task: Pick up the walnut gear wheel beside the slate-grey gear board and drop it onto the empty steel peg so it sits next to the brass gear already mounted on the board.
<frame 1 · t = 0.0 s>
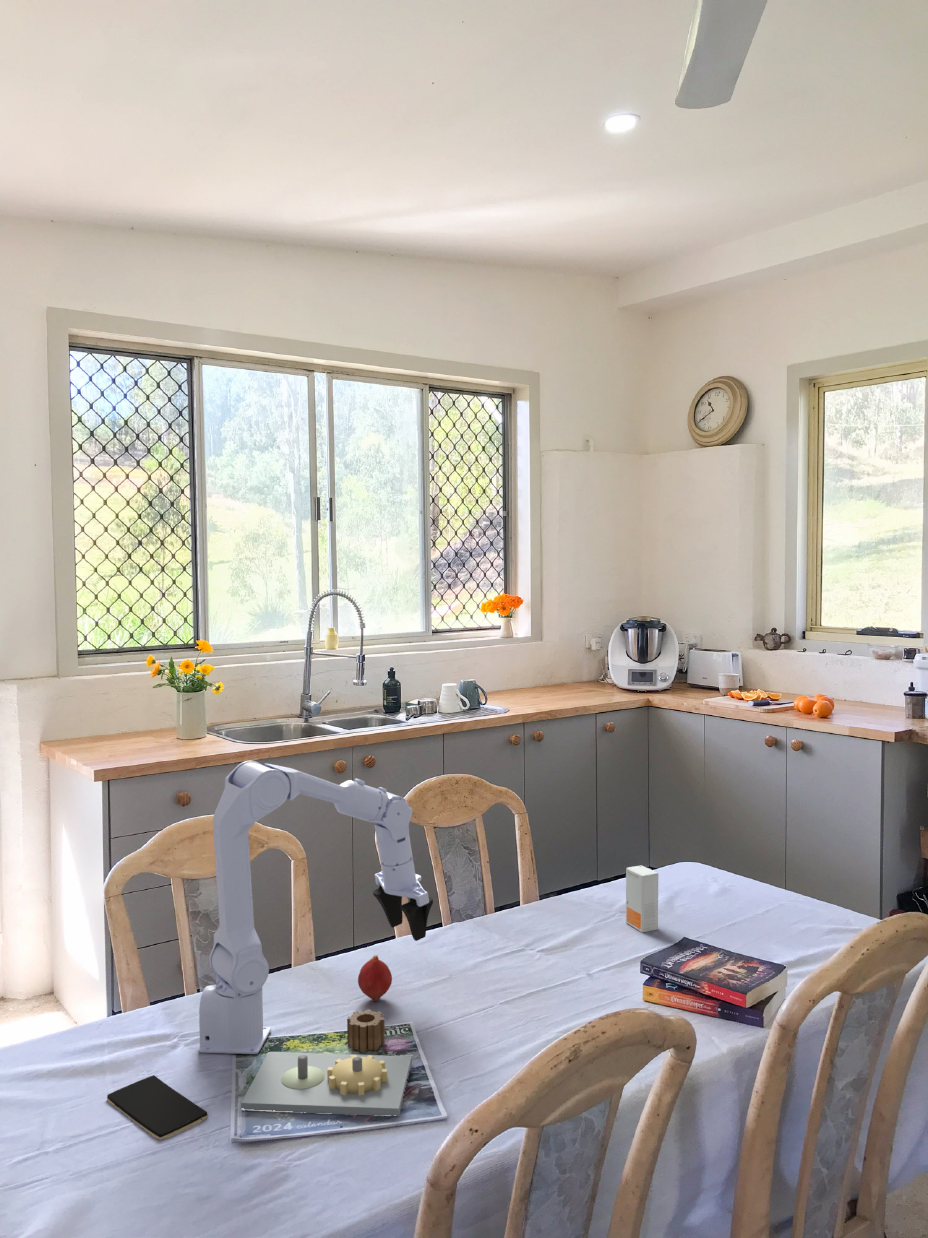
hand: (408, 931, 171), 11 cm above the table, tool pointing down, fingers open, 7 cm apart
skincare box: (641, 927, 201), on the table
onion: (375, 1001, 167), on the table
gear board: (330, 1086, 140), on the table
walnut gear: (366, 1043, 152), on the table
smartphone: (156, 1113, 134), on the table
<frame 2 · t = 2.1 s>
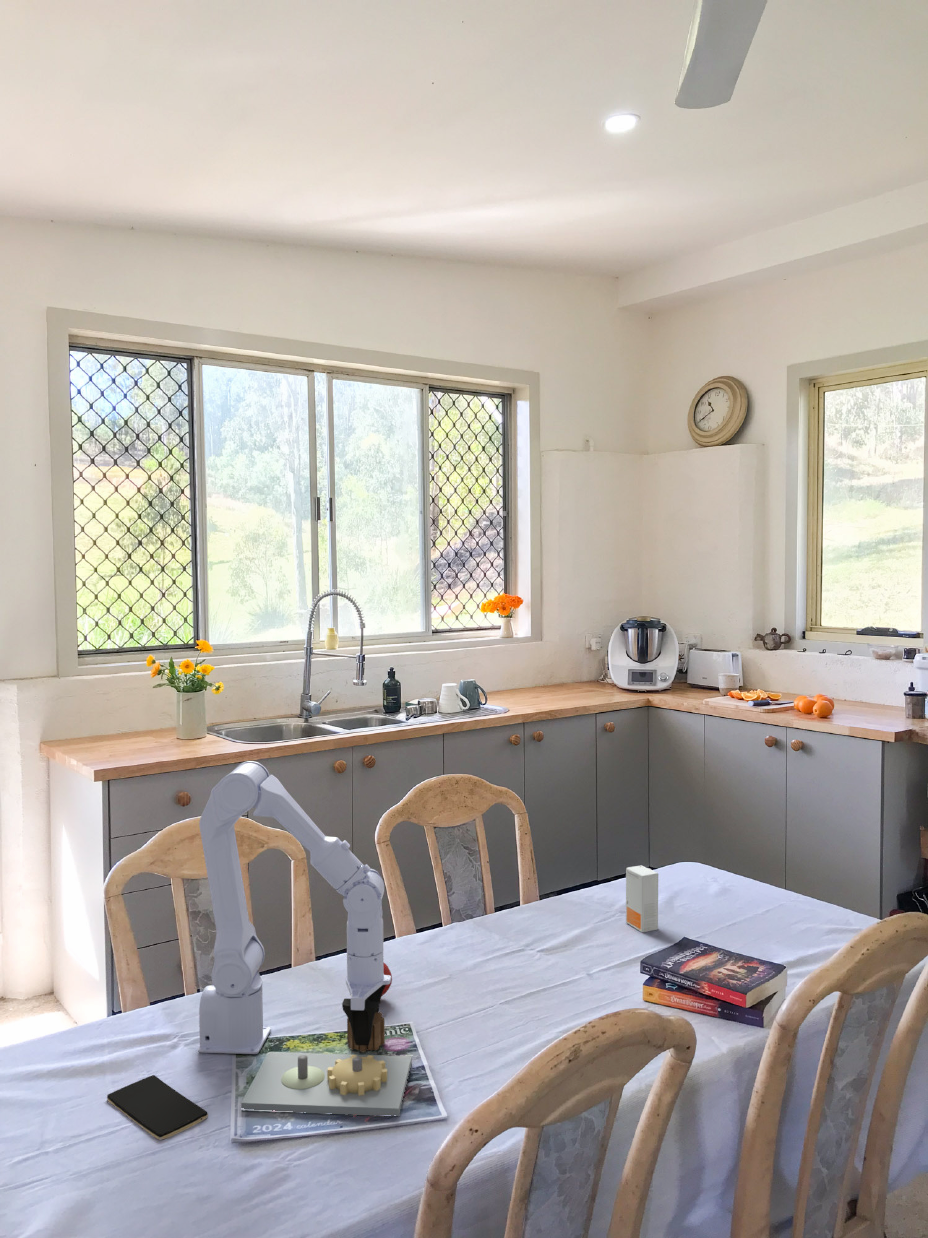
hand: (366, 1034, 152), 1 cm above the table, tool pointing down, fingers closed on walnut gear, 6 cm apart
walnut gear: (366, 1043, 152), on the table, touching gripper
everything else where it was.
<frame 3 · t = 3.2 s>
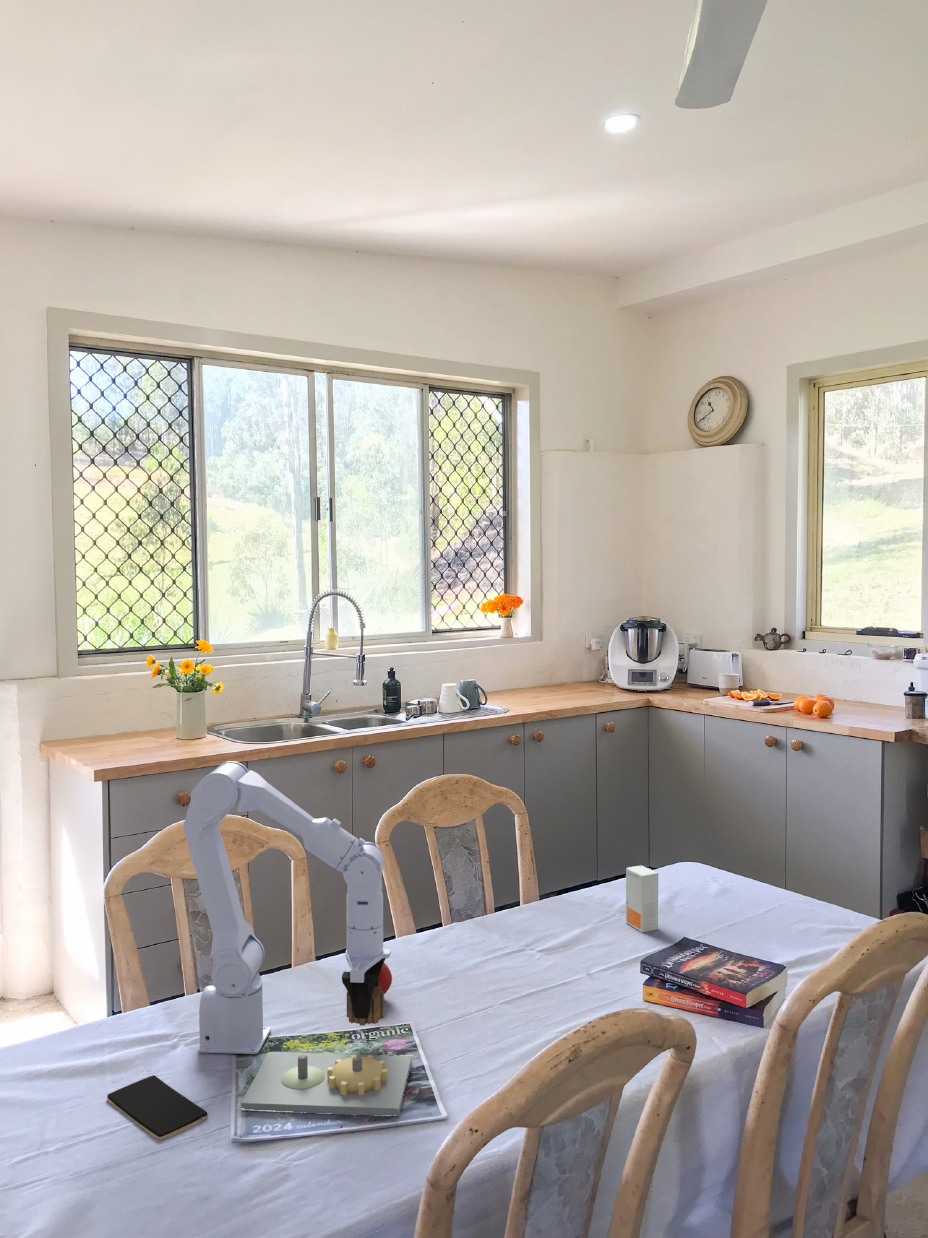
hand: (365, 1008, 152), 6 cm above the table, tool pointing down, fingers closed on walnut gear, 6 cm apart
walnut gear: (365, 1017, 152), point 4 cm above the table, touching gripper
everything else where it was.
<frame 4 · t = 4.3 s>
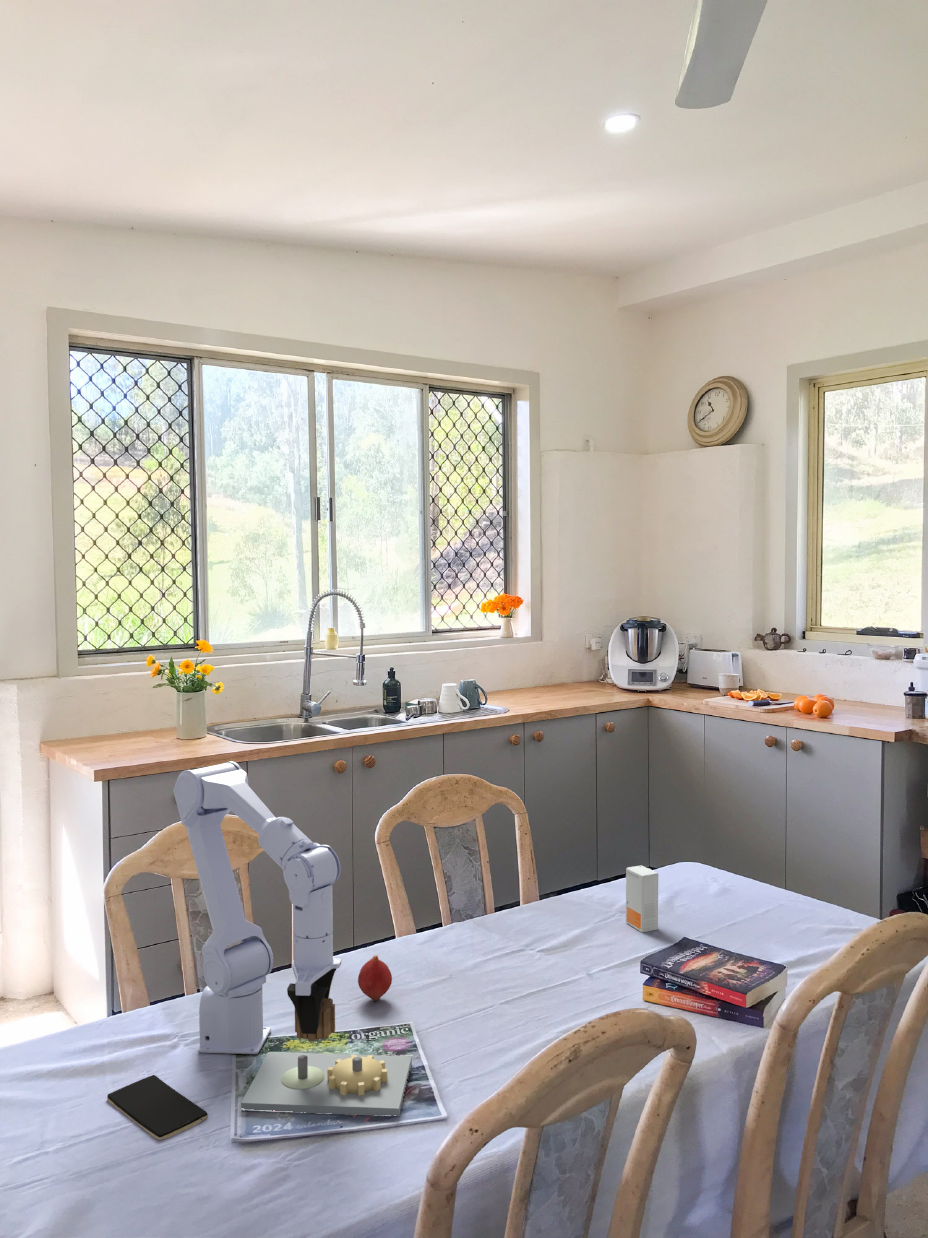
hand: (314, 1022, 142), 8 cm above the table, tool pointing down, fingers closed on walnut gear, 6 cm apart
walnut gear: (315, 1031, 142), point 7 cm above the table, touching gripper
everything else where it was.
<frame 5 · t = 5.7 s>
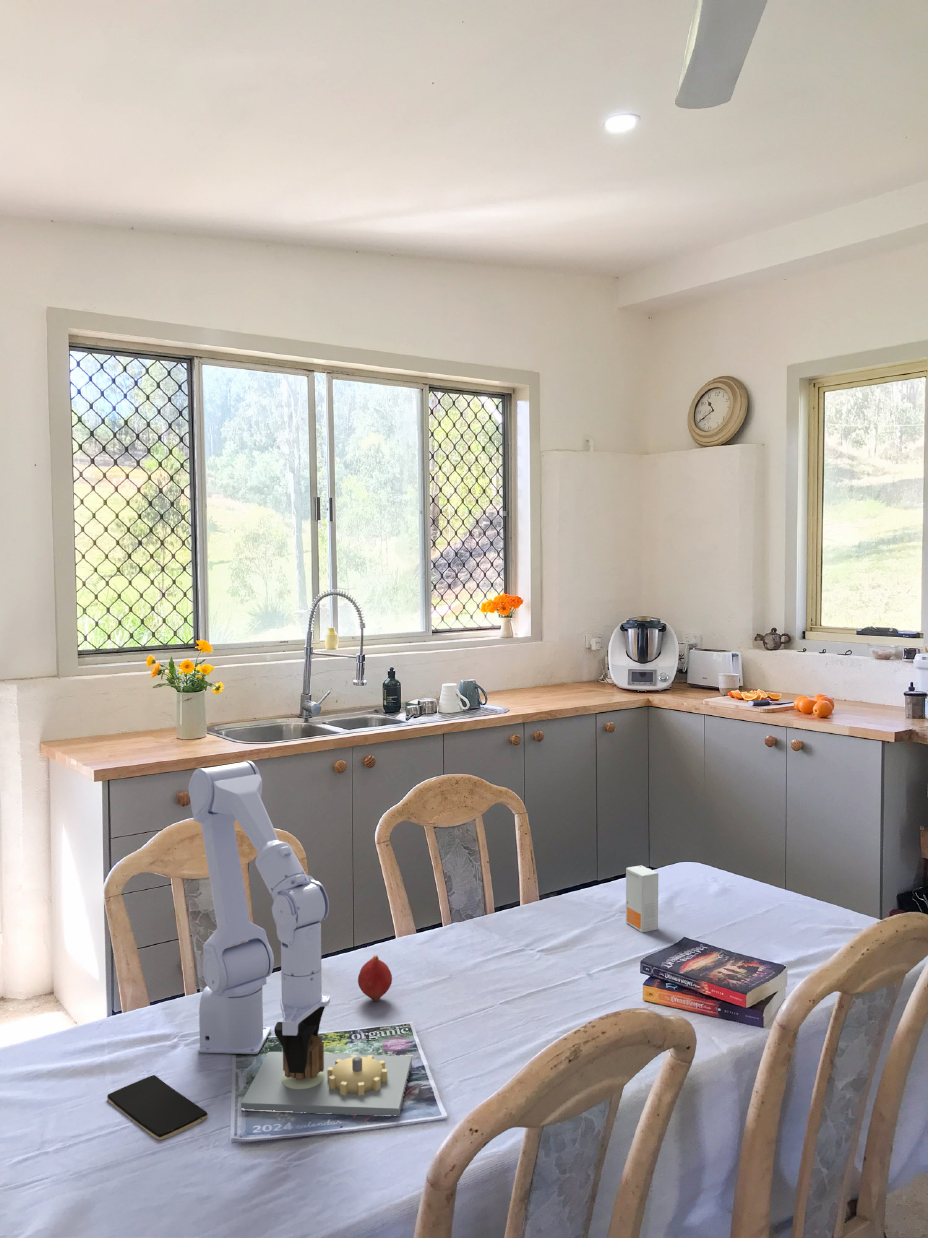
hand: (302, 1060, 140), 4 cm above the table, tool pointing down, fingers closed on walnut gear, 6 cm apart
walnut gear: (303, 1070, 140), point 2 cm above the table, touching gripper
everything else where it was.
when the fingers open (4 cm above the table, at t = 6.7 s): walnut gear stays where it is, resting on gear board.
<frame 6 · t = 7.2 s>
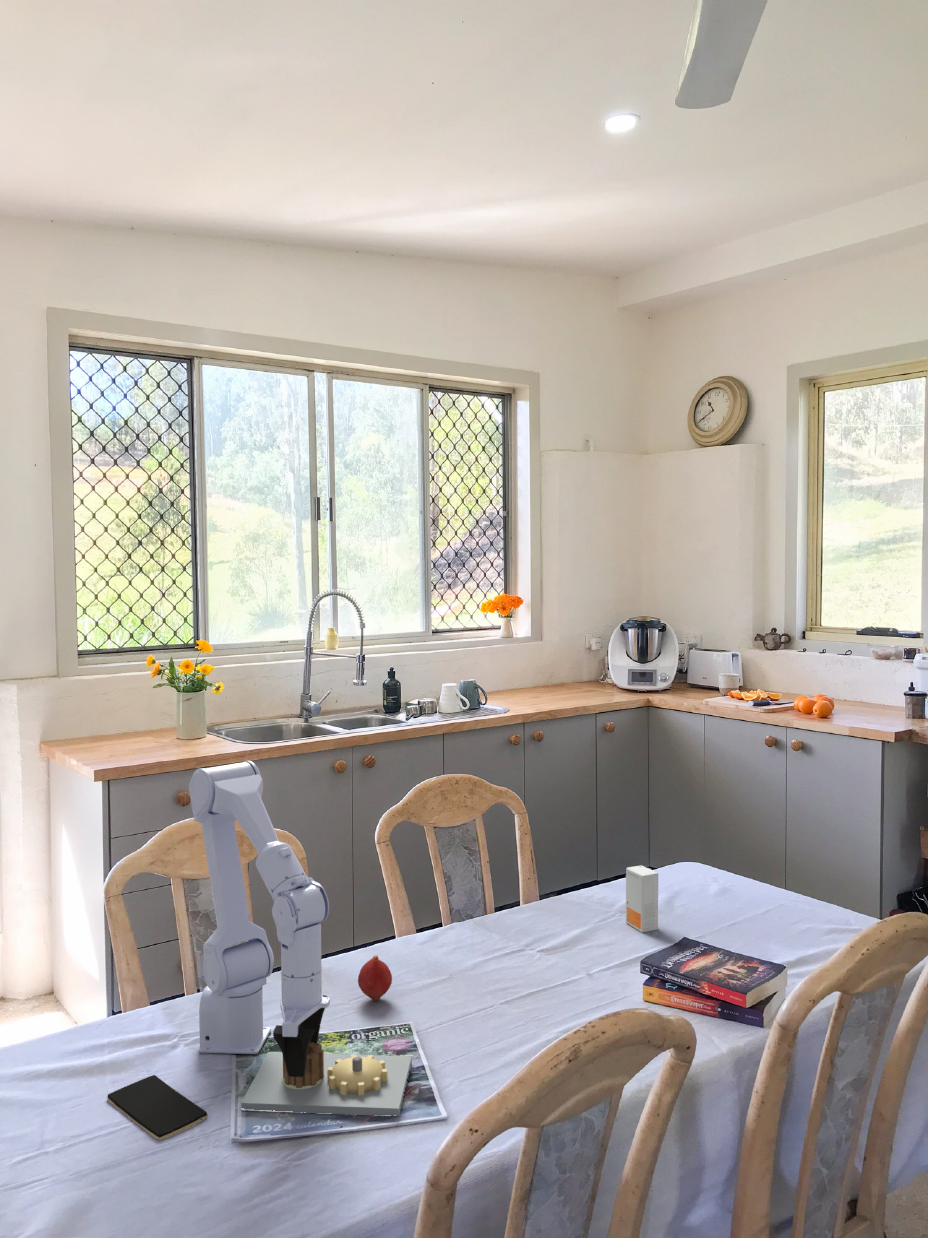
hand: (302, 1061, 140), 4 cm above the table, tool pointing down, fingers open, 7 cm apart
walnut gear: (303, 1077, 140), point 1 cm above the table, touching gear board
everything else where it was.
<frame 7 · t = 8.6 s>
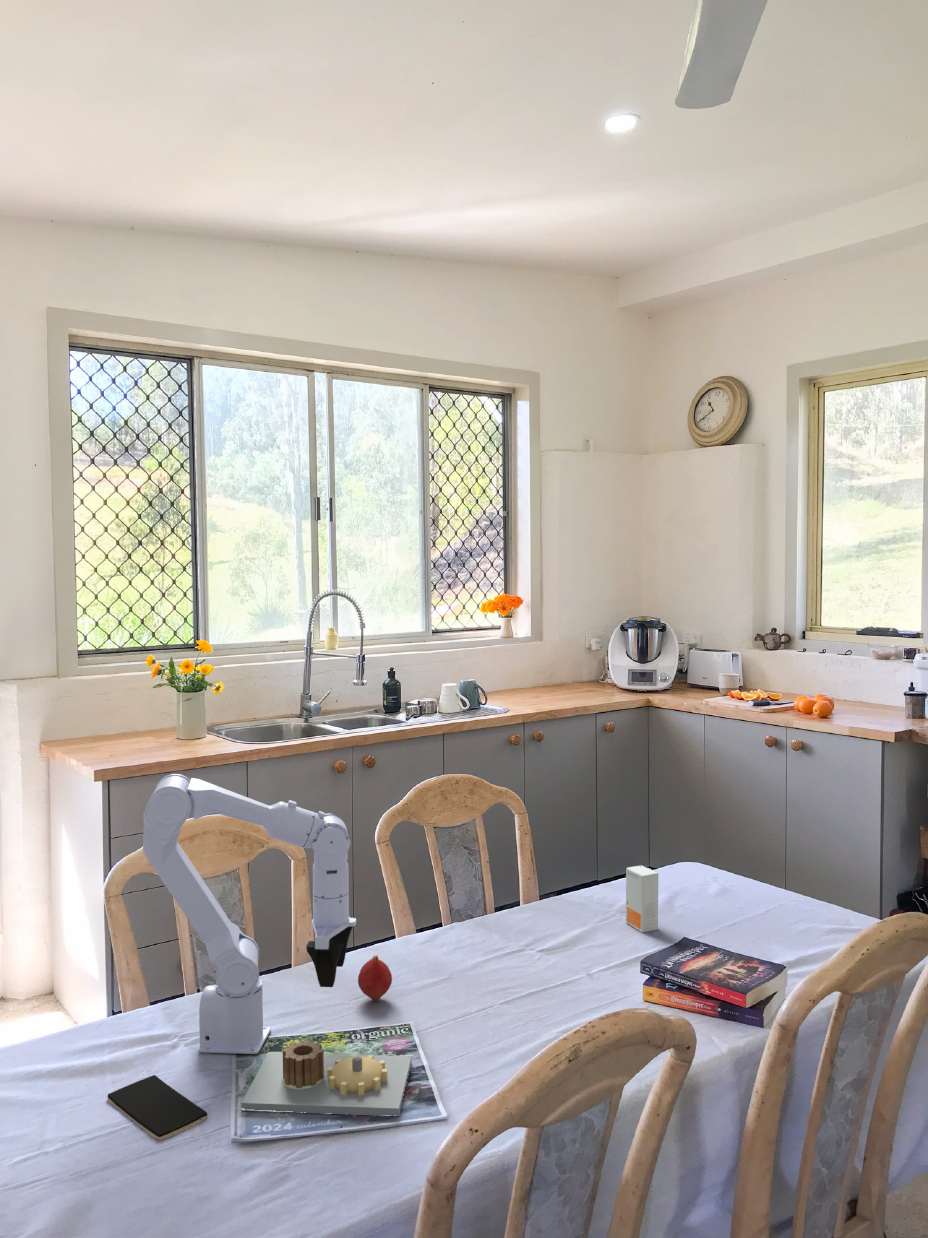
hand: (331, 976, 155), 9 cm above the table, tool pointing down, fingers open, 7 cm apart
nothing on the table moved.
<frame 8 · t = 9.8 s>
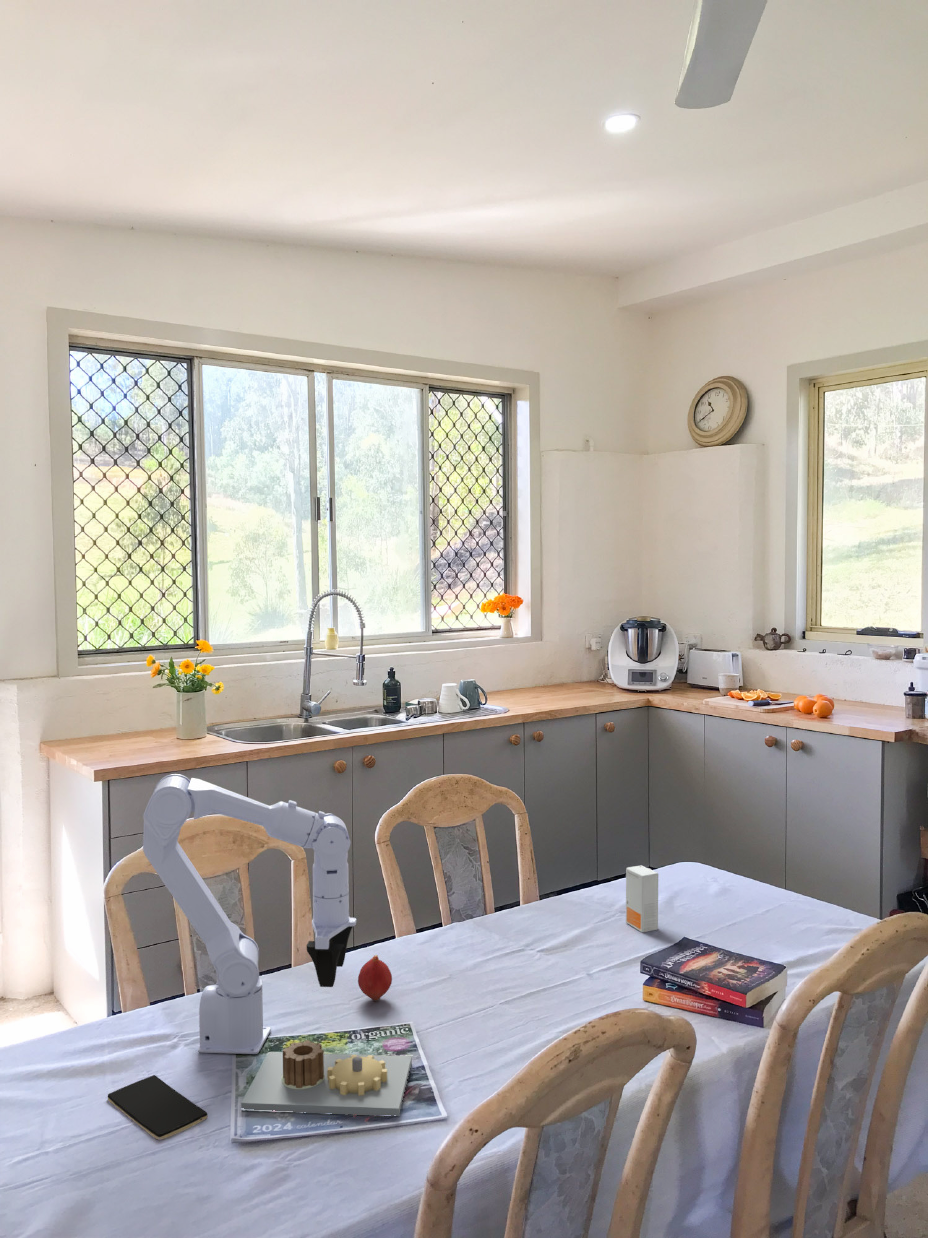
hand: (331, 975, 155), 9 cm above the table, tool pointing down, fingers open, 7 cm apart
nothing on the table moved.
at the end: walnut gear 0.1 cm from the target spot on the gear board, point 1.3 cm above the gear board's base; walnut gear tilted 0°; the gripper is holding nothing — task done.
